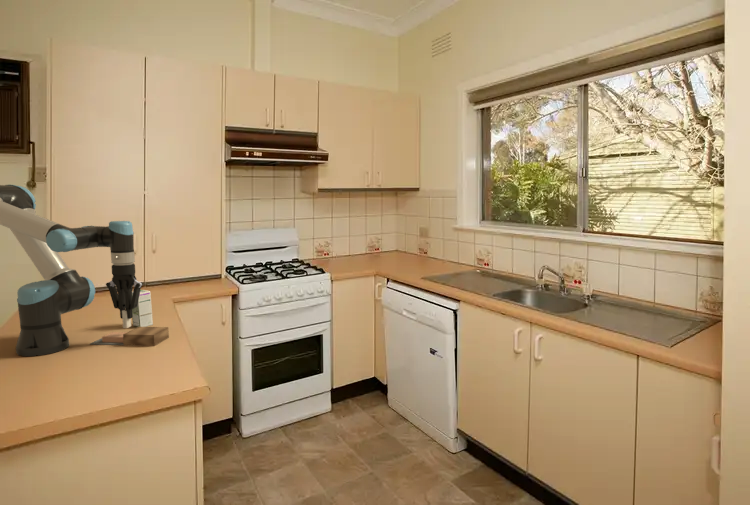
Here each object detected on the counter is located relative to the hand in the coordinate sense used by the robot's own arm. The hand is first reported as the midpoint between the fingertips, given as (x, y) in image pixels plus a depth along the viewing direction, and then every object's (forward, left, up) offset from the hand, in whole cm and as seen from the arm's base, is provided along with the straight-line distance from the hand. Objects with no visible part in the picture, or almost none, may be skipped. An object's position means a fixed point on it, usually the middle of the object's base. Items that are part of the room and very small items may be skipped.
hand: (127, 327), depth 172 cm
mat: (-4, -2, -5) cm, 7 cm away
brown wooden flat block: (+6, +4, -5) cm, 9 cm away
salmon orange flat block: (-3, -2, -5) cm, 6 cm away
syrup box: (-16, +14, -6) cm, 22 cm away
